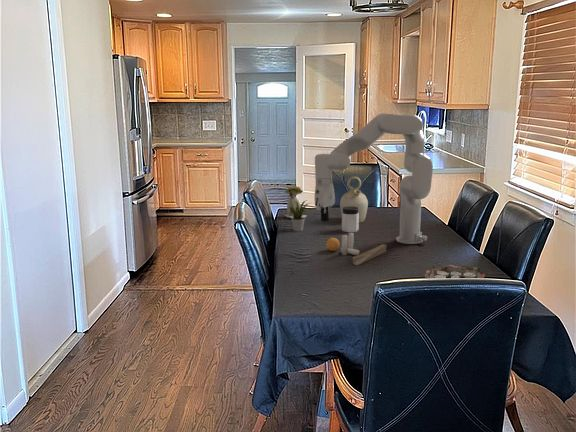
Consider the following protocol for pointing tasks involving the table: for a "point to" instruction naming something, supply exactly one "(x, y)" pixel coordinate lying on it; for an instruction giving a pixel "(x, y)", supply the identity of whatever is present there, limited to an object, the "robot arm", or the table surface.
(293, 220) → the house plant
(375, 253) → the curved brown wooden stick
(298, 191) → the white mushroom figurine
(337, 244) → the ball
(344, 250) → the back pin left
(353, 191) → the jug
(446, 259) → the table surface
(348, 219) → the jar
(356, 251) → the front pin
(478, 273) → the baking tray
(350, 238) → the back pin right
